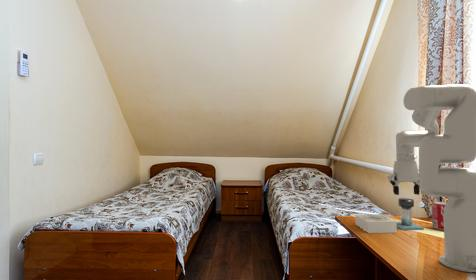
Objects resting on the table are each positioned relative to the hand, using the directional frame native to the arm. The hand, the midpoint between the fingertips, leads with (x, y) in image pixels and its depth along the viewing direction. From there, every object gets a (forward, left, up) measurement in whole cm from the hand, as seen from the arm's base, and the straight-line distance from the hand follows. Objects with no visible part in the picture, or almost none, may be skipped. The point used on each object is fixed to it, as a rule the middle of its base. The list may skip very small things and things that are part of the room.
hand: (406, 194), depth 140 cm
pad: (+1, 0, -16) cm, 16 cm away
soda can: (-3, -14, -16) cm, 21 cm away
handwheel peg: (+1, 0, -15) cm, 15 cm away
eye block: (-1, +16, -16) cm, 22 cm away
